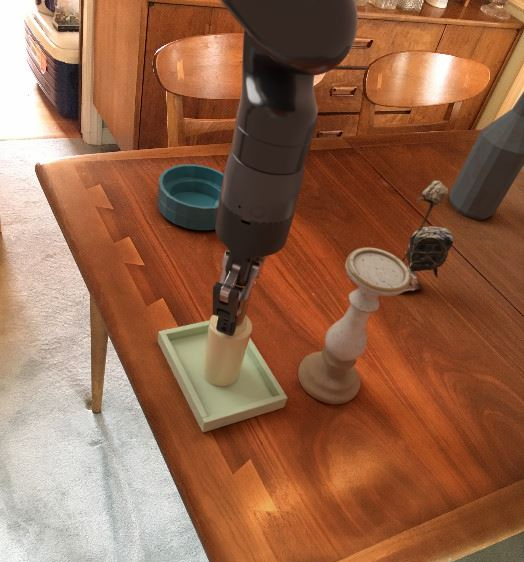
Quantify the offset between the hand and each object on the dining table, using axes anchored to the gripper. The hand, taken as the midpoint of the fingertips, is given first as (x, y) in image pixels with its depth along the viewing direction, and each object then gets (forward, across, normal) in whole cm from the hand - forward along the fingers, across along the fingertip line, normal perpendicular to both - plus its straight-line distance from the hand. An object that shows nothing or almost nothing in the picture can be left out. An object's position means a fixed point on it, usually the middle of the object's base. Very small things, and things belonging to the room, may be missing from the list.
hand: (231, 319), depth 67 cm
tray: (+10, 0, 0) cm, 10 cm away
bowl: (+10, -33, -17) cm, 39 cm away
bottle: (+10, -68, +32) cm, 76 cm away
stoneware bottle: (+10, 0, 0) cm, 10 cm away
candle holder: (+11, -6, +14) cm, 19 cm away
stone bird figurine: (+11, -34, +21) cm, 41 cm away
